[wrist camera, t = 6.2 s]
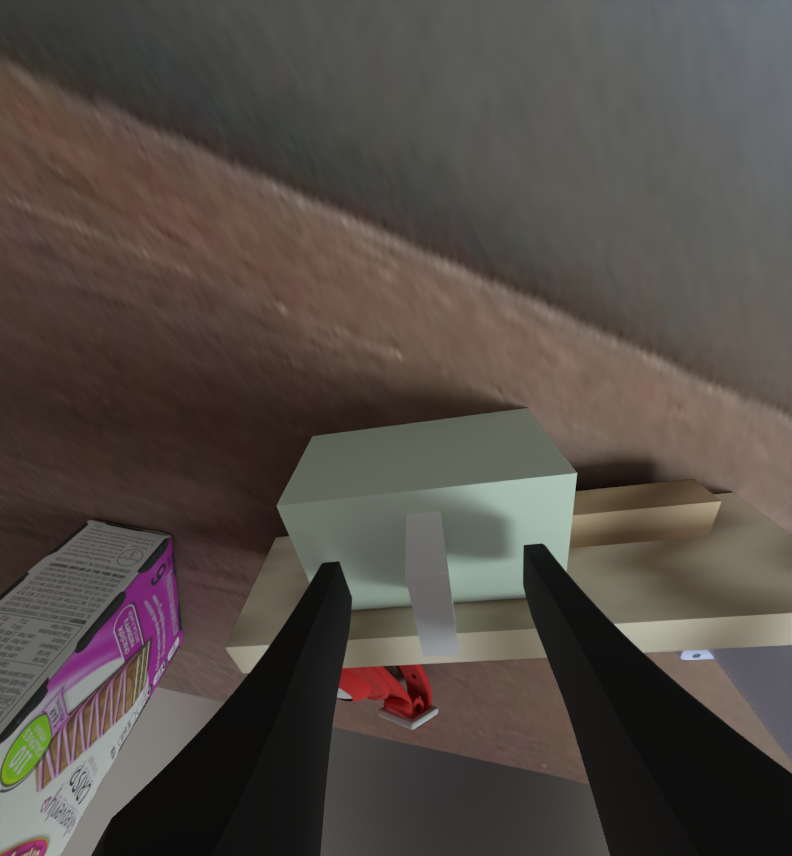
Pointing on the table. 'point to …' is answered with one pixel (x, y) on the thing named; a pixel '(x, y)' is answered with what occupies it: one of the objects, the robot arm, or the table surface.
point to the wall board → (587, 584)
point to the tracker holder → (391, 692)
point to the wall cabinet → (431, 513)
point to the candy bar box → (78, 673)
